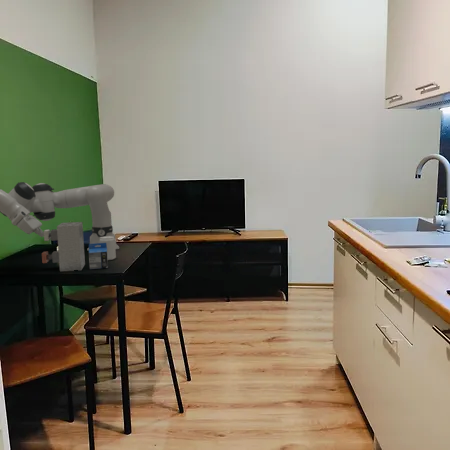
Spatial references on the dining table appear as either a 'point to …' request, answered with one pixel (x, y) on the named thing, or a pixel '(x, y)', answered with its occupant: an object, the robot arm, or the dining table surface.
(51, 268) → the dining table surface
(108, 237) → the beverage can
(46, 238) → the white key
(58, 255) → the box
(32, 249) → the dining table surface
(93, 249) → the label tape box
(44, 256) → the brown block
